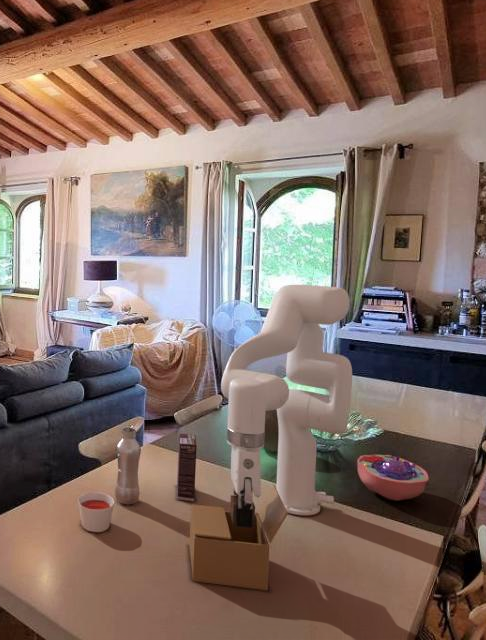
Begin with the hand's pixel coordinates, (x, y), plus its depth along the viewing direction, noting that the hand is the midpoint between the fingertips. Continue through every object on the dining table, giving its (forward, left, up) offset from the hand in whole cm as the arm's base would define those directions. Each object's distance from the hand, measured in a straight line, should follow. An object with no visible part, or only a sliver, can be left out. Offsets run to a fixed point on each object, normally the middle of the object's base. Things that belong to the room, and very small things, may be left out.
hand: (241, 519), depth 113 cm
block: (0, 0, 0) cm, 0 cm away
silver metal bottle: (+26, -25, -11) cm, 38 cm away
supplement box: (+10, -33, -11) cm, 36 cm away
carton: (+3, 0, -11) cm, 12 cm away
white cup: (+33, -11, -11) cm, 37 cm away
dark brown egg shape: (-20, -72, -11) cm, 76 cm away
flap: (-6, 0, +2) cm, 6 cm away
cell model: (-48, -45, -11) cm, 66 cm away
